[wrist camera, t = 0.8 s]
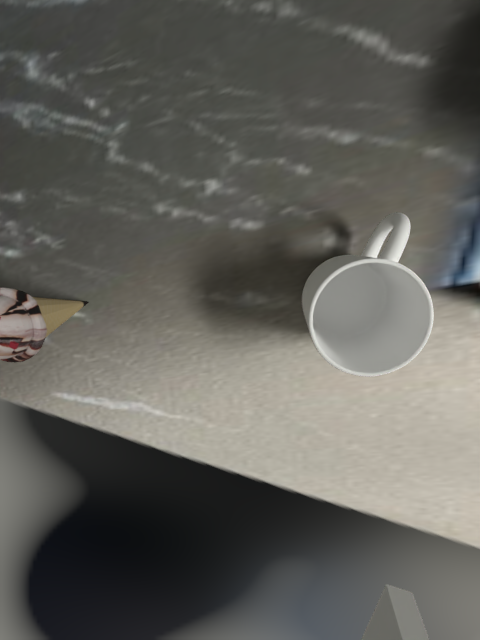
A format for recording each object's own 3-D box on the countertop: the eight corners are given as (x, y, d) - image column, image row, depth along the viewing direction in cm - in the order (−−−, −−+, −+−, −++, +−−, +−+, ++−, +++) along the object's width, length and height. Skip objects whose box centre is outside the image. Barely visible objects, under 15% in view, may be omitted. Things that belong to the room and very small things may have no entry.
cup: (288, 322, 35) (290, 352, 26) (336, 202, 33) (360, 184, 23) (367, 351, 35) (400, 393, 25) (423, 233, 32) (484, 228, 22)
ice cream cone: (54, 311, 38) (-88, 353, 23) (73, 264, 37) (-64, 277, 22) (101, 337, 38) (-11, 395, 23) (122, 291, 37) (16, 321, 22)
